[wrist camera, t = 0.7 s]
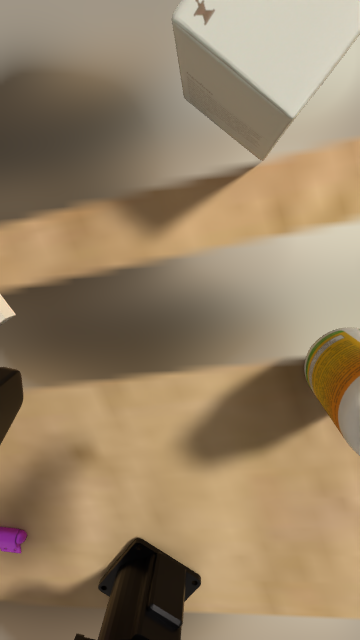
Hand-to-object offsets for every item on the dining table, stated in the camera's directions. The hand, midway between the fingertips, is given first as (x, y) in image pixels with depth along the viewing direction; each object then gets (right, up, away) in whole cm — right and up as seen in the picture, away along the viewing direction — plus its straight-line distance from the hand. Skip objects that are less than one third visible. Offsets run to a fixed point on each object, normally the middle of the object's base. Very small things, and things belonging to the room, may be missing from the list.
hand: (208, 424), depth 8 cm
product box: (+4, +16, +11) cm, 20 cm away
